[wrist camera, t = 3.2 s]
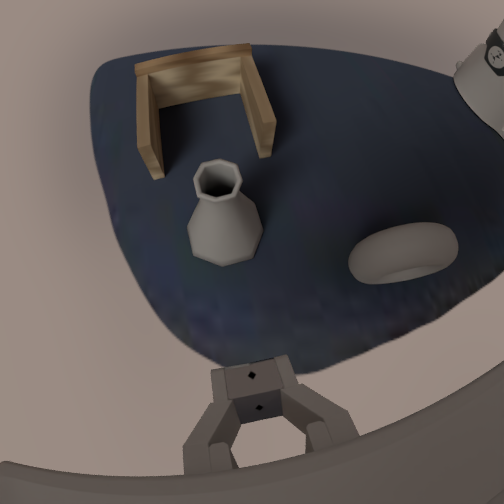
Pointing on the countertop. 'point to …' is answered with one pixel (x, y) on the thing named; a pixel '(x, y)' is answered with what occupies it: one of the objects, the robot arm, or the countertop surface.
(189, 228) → the flask
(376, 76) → the countertop surface
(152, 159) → the wooden arch bench
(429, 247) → the donut
